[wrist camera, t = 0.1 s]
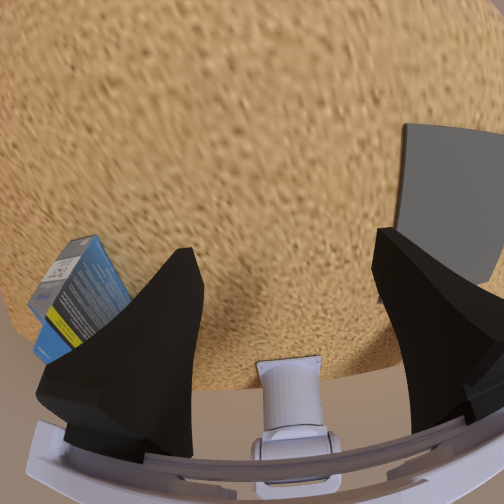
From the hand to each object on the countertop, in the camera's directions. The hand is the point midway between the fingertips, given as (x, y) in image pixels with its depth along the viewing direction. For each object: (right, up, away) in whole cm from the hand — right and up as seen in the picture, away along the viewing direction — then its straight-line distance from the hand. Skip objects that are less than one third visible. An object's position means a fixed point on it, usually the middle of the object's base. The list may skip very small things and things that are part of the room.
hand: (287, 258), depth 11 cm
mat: (+19, +3, +10) cm, 21 cm away
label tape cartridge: (-16, -2, +14) cm, 21 cm away
